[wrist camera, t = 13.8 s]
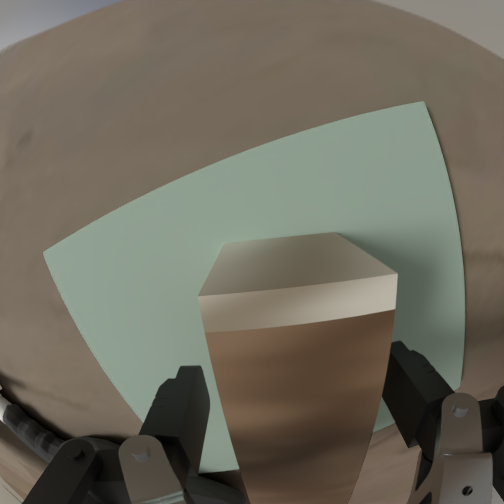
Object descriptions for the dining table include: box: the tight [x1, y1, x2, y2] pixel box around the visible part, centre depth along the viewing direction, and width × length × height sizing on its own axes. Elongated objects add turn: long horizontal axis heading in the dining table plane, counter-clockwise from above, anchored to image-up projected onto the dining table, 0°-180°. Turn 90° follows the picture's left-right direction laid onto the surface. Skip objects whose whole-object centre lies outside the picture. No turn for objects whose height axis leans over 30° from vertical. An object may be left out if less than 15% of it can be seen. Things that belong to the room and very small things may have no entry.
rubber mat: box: [43, 101, 465, 473], centre depth 11 cm, size 18×16×1 cm
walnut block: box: [198, 232, 398, 504], centre depth 9 cm, size 4×5×11 cm
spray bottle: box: [0, 385, 245, 504], centre depth 13 cm, size 3×11×24 cm
